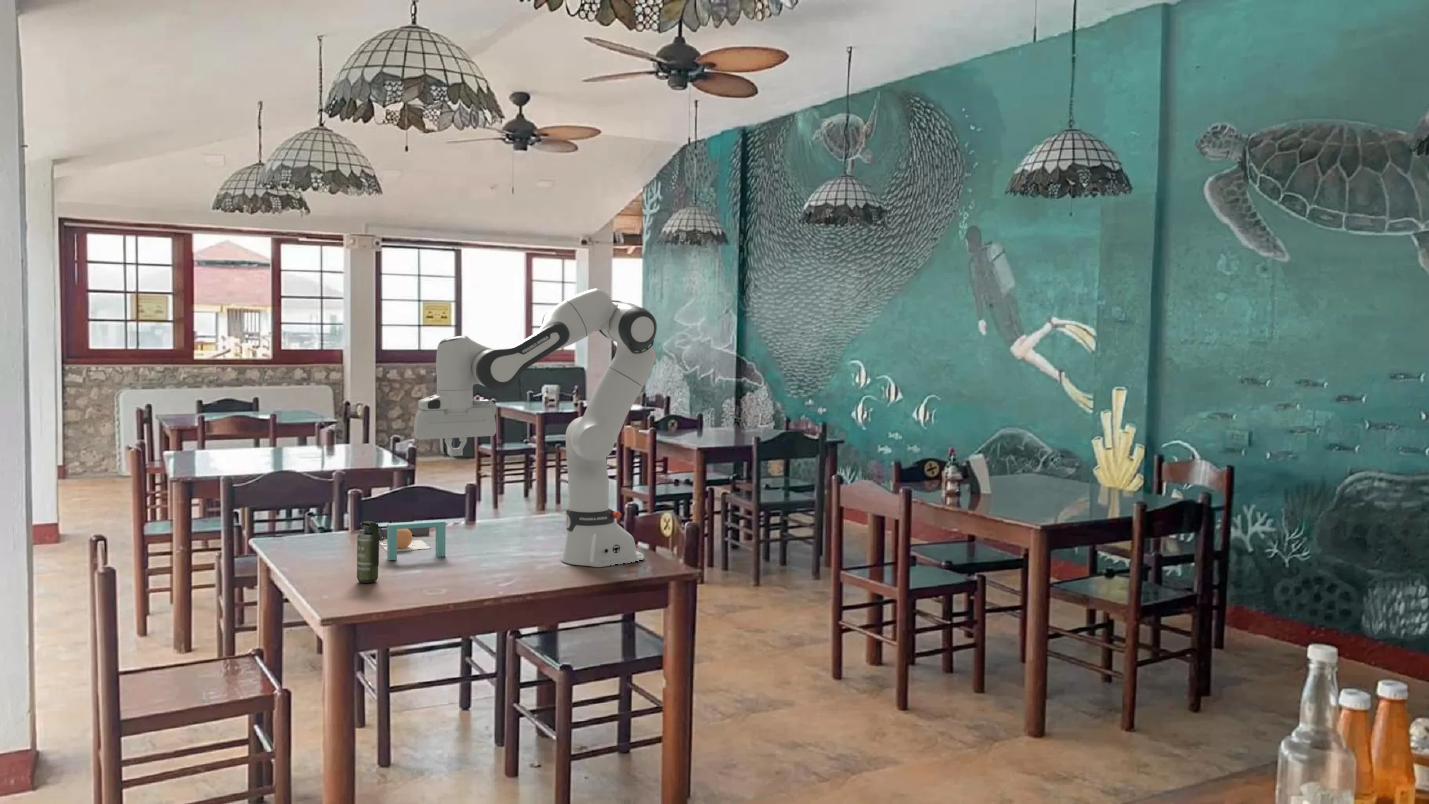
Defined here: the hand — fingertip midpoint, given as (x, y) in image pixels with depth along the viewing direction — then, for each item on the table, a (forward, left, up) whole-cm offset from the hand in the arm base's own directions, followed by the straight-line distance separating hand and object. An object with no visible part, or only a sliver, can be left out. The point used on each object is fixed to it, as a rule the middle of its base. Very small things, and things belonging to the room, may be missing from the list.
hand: (456, 455), depth 275 cm
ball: (+6, -38, -28) cm, 48 cm away
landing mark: (+5, -41, -31) cm, 52 cm away
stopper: (+5, -56, -31) cm, 64 cm away
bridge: (+5, -25, -31) cm, 40 cm away
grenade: (+21, -2, -31) cm, 37 cm away
